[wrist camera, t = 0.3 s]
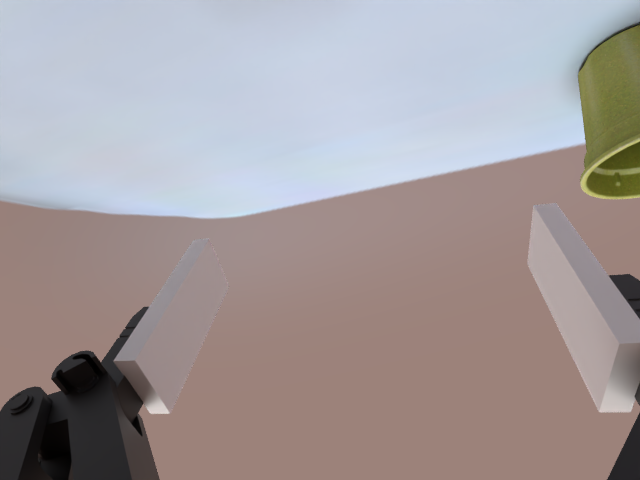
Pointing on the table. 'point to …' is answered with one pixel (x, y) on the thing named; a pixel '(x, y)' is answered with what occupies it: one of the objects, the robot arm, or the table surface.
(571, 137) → the table surface
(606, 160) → the plant pot
